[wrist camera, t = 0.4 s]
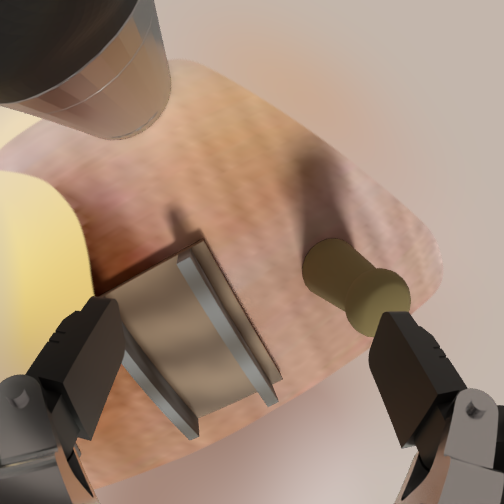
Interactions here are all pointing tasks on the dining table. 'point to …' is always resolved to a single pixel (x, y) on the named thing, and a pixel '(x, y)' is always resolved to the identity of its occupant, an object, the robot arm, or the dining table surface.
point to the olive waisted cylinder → (354, 284)
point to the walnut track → (191, 339)
